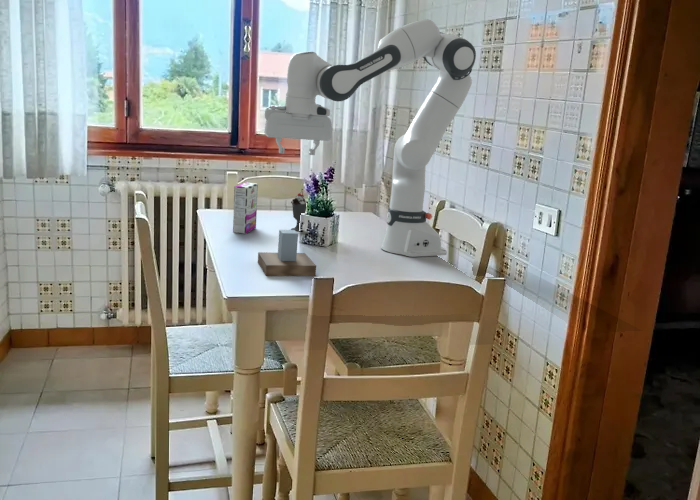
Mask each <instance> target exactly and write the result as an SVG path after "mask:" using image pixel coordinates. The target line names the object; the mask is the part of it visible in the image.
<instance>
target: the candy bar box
mask: <svg viewBox="0 0 700 500" xmlns="http://www.w3.org/2000/svg"><path fill="white" fill-rule="evenodd" d="M258 185H259V184H258V183H256V182H247V181H246V182H244V183H239V184H238V185H235V186H234V187H233V189H234V190H233V191H234V192H233V194H234V195H233V220H232V221H233V222H232V224H233V227H232V233H235V234H241V235H242V234H243V235H246V234H248V233H250V232H251V231H254V230H255V229H256V228H257V209H258V208H257V207H258V188H259V187H258Z"/></svg>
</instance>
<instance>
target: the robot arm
mask: <svg viewBox="0 0 700 500" xmlns="http://www.w3.org/2000/svg"><path fill="white" fill-rule="evenodd" d="M476 57H477V53H476V49H475V46H474V45H473V44H472V43H471V42H470V41H468V39H465V38H462V37H460V36H458V35H454V34H451V33H450V34H449V33H444V32H440V30H439V27H438V25H437V24H436V23H435V22H434V21H433V20H431V19H428V18H423V19H419V20H417V21H413V22H410V23H407V24H405V25H402V26H400V27H398V28H395V29H394V30H393V31H390V32H389V33H388V34H386V35H385V36H384V37H382V38H381V39H380V40H379V42H378V44H377V47H376V50H374V51H373V52H372V53H370V54H368V55H366V56H364V57H362V58H361V59H359V60H357V61H355V62H353V63H350V64H336V65H333V64H331V63H329V62H327V61H326V60H324V59H323V58H321V57H320V56H319V55H318V54H317V52H314V51H302V52H296V53H294V54H292V55H291V56H290V59H289V62H288V68H287V74H286V75H287V76H286V77H287V78H286V83H287V91H286V94H285V106H284V105H282V106H281V105H270V106H268V107H266V109H265V111H264V118H265V125H264V135H265V136H266V137H267V138H275V142H276V145H277V146H278V154H285V152H286V151H285V150H286V148H285V147H284V146H283V145H282V144H281V142H283V141H282V140H283V139H294V140H305V141H307V140H311V141H313V144H314V145H313V146H312V148H309V149H308V151H309V152H308V155H309V156H315V155H316V150H317V149H318V147H319V145H320V142H322V141H323V142H329V141H330V140H332V133H333V127H332V123H333V122H332V120H331V118H330V117H329V116H330V114H331V110H330V109H329V108H328V107H324V106H322V105H321V104H317V103H316V97H317V96H320V97H322V98H325V99H328V100H330V101H333V102H345V101H346V100H349V98H351V97H352V96H353V95H354V94H355V93H356V91H357V90H358V89H359V87H361V85H363V84H365V83H366V82H368V81H369V80H371V79H373V78H375V77H378V76H379V75H381V74H383V73H385V72H389V71H393V70H397V69H400V68H403V67H407V66H408V65H411V64H412V63H415V62H416V61H418V60H421V58H422V59H424V61H425V62H426V64H428V65H429V66H431V67H434V68H436V69H437V70H438V71H439V72H438V77H437V80H436V82H435V83H434V85H433V86H432V88H431V89H430V91H428V94H427V96H426V97H425V99H424V100H423V102H422V104H421V105H420V107H419V108H418V110H417V111H416V114H415V117H414V118H413V120H412V122H411V124H410V125H409V127H408V129H407V131H406V132H405V134H403V135H401V136H400V137H398V139H397V140H396V141H395V144H394V149H393V162H392V177H391V178H392V179H391V192H390V201H389V207H388V209H387V214H386V229H385V233H384V238H383V241H382V242H381V246H380V249H381V250H383V251H385V252H388V253H391V254H396V255H403V256H406V257H413V258H414V257H416V258H417V257H433V256H434V257H435V256H438V257H439V256H447V250H446V248H444V247H442V239H441V236H440V234H439V233H438V232H437V231H436V230H435V229H434V228H433V227H432V226H431V225H430V224H429V223H428V222H427V220H432V218H433V214H432V213H429V212H426V211H424V210H423V209H424V201H425V200H424V199H425V192H426V166H428V164H429V162H430V161H431V159H432V158H433V156H434V154H435V152H436V151H437V148H438V146H439V144H440V143H441V140H442V139H443V136H444V134H445V133H446V131H447V129H448V127H449V126H450V125H451V123H452V121H453V120H454V118H455V117H456V115H457V114H458V112H459V111H460V109H461V107H462V105H463V104H464V101H465V100H466V98H467V96H468V94H469V91H470V89H471V86H472V81H473V80H472V77H471V75H470V74H471V73H472V71H473V67H474V66H475V63H476Z"/></svg>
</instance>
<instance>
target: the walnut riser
mask: <svg viewBox="0 0 700 500" xmlns="http://www.w3.org/2000/svg"><path fill="white" fill-rule="evenodd" d="M257 254H258V255H257V263H258V265H259V267H260V268H261V270H262V272H263V273H264V274H265V275H264V276H266V277H316V274H317V273H316V272H317V265H316V263H315V262H314V261H313V260H312V259H311V258H310V257H309V256H308V255H307V254H306V253H305V252H297V257H296V261H280V259H279V258H278V252H268V251H267V252H262V251H259V252H258V253H257Z"/></svg>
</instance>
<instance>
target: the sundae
mask: <svg viewBox="0 0 700 500" xmlns="http://www.w3.org/2000/svg"><path fill="white" fill-rule="evenodd" d="M303 190H304V189H303V188H301V192H300V193H297V195H296V196H295V197H294V198H293V199H292V201H291V202H290V204H291V206H292V214H293V215H292V216H293V218H294V219H295V220H296V225H295V227H292V228H291V229H290V230H295V231H296V232H300V231H299V223H300V224H301V221H300V215H301V213H305V214H306V210H307V207H306V203H307V202H308V201H307V200H306V198H305V195H304V192H303Z"/></svg>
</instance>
